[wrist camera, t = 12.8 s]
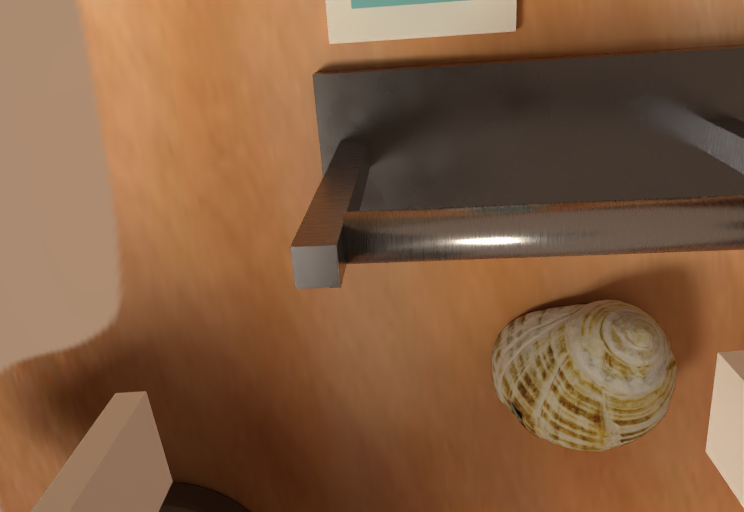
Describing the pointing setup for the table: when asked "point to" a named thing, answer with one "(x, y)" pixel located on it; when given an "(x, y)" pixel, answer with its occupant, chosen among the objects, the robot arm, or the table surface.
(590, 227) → the stand
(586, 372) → the seashell
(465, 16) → the mat
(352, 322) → the table surface
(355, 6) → the c link
